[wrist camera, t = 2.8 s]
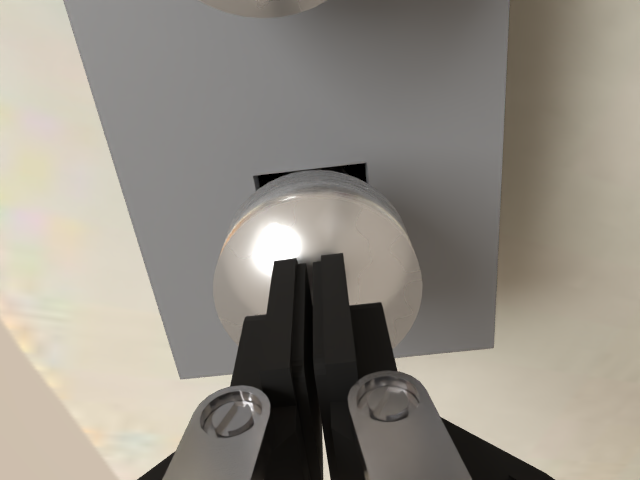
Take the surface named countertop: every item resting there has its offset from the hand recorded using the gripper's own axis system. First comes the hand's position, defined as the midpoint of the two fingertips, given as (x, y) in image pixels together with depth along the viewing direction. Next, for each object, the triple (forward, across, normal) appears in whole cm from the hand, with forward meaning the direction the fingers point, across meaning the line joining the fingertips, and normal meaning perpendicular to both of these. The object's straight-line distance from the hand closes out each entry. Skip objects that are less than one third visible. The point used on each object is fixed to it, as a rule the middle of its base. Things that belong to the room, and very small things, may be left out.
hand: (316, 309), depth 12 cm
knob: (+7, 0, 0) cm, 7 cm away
